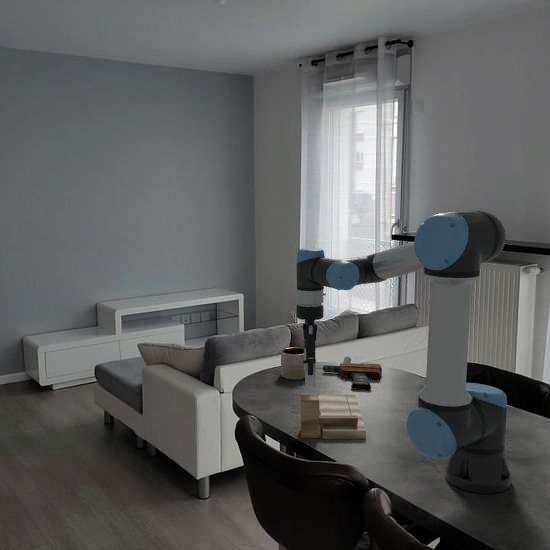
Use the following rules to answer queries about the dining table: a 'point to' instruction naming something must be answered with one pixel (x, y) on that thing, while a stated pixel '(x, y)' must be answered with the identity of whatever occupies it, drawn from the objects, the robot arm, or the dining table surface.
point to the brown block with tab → (318, 417)
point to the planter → (292, 363)
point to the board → (341, 407)
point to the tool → (356, 372)
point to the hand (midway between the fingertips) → (309, 378)
